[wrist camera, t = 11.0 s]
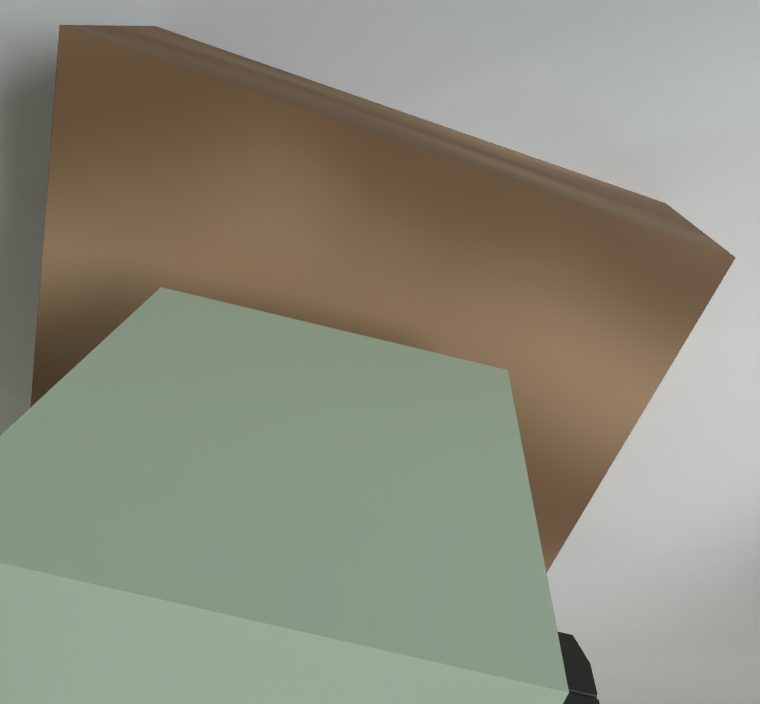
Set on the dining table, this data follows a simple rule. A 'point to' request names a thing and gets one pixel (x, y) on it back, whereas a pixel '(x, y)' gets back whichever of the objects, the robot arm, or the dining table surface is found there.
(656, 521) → the dining table surface
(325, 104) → the walnut block
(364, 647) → the sage cube
